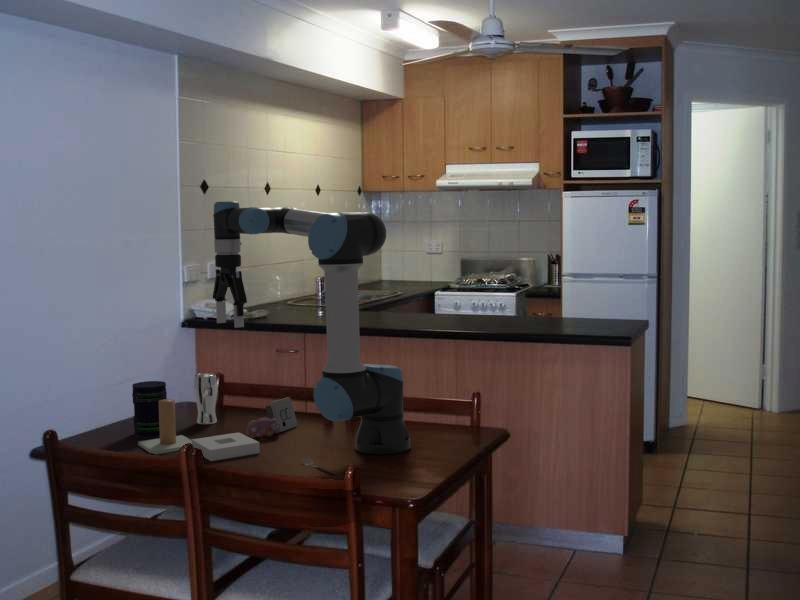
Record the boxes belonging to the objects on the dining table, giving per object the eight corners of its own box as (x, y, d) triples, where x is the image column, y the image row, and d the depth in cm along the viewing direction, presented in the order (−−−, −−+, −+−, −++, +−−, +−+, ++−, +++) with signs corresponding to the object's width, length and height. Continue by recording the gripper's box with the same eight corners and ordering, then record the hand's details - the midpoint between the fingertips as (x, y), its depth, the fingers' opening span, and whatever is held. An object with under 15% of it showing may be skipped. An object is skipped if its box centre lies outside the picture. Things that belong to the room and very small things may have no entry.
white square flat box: (259, 453, 254) (259, 442, 254) (210, 461, 247) (210, 450, 246) (239, 442, 266) (238, 432, 266) (191, 450, 258) (191, 439, 258)
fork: (330, 478, 231) (330, 470, 231) (299, 464, 244) (299, 456, 244) (339, 476, 232) (339, 468, 232) (308, 462, 245) (308, 455, 245)
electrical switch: (280, 433, 277) (276, 402, 276) (266, 433, 279) (262, 402, 279) (298, 426, 285) (295, 396, 284) (284, 426, 287) (281, 396, 287)
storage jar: (134, 438, 272) (132, 388, 271) (133, 431, 282) (131, 382, 280) (169, 435, 275) (167, 385, 274) (167, 428, 285) (165, 380, 283)
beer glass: (191, 424, 290) (189, 376, 288) (202, 419, 296) (200, 372, 295) (211, 425, 288) (209, 377, 286) (222, 420, 294) (220, 373, 293)
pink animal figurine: (246, 443, 271) (247, 424, 267) (244, 433, 275) (245, 414, 271) (280, 440, 274) (282, 422, 270) (278, 430, 278) (279, 412, 274)
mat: (198, 447, 261) (198, 444, 261) (152, 454, 254) (152, 451, 254) (182, 438, 272) (182, 435, 272) (138, 445, 265) (137, 441, 265)
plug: (178, 443, 262) (176, 401, 261) (162, 445, 260) (161, 403, 259) (173, 440, 266) (171, 398, 265) (157, 442, 263) (156, 400, 262)
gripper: (257, 254, 268) (259, 328, 270) (223, 251, 289) (225, 320, 291) (232, 255, 264) (234, 330, 266) (200, 252, 285) (202, 322, 287)
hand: (230, 325), depth 279 cm, fingers open, 13 cm apart
